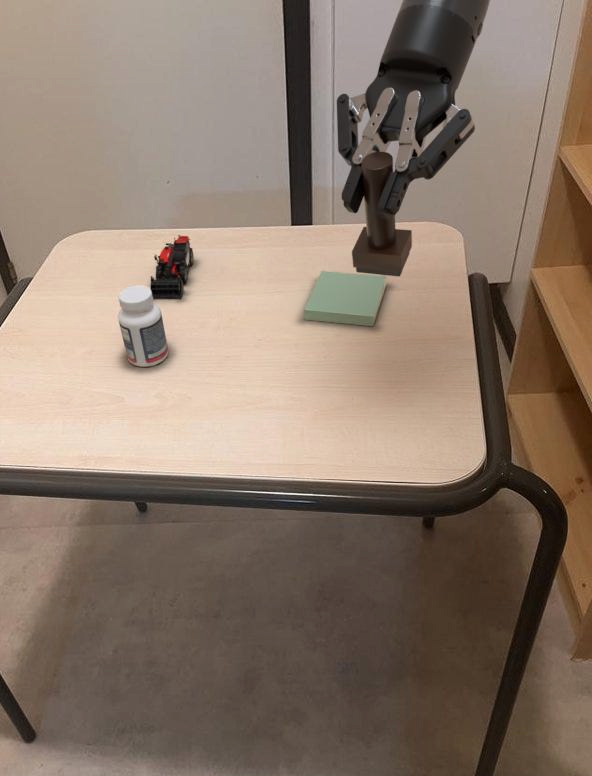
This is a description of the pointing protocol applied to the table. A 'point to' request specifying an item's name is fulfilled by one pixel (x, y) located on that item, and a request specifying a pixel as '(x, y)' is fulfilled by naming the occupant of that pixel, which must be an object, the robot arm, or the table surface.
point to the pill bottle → (142, 327)
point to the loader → (172, 268)
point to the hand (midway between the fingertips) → (366, 212)
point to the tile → (345, 298)
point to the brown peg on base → (379, 224)
